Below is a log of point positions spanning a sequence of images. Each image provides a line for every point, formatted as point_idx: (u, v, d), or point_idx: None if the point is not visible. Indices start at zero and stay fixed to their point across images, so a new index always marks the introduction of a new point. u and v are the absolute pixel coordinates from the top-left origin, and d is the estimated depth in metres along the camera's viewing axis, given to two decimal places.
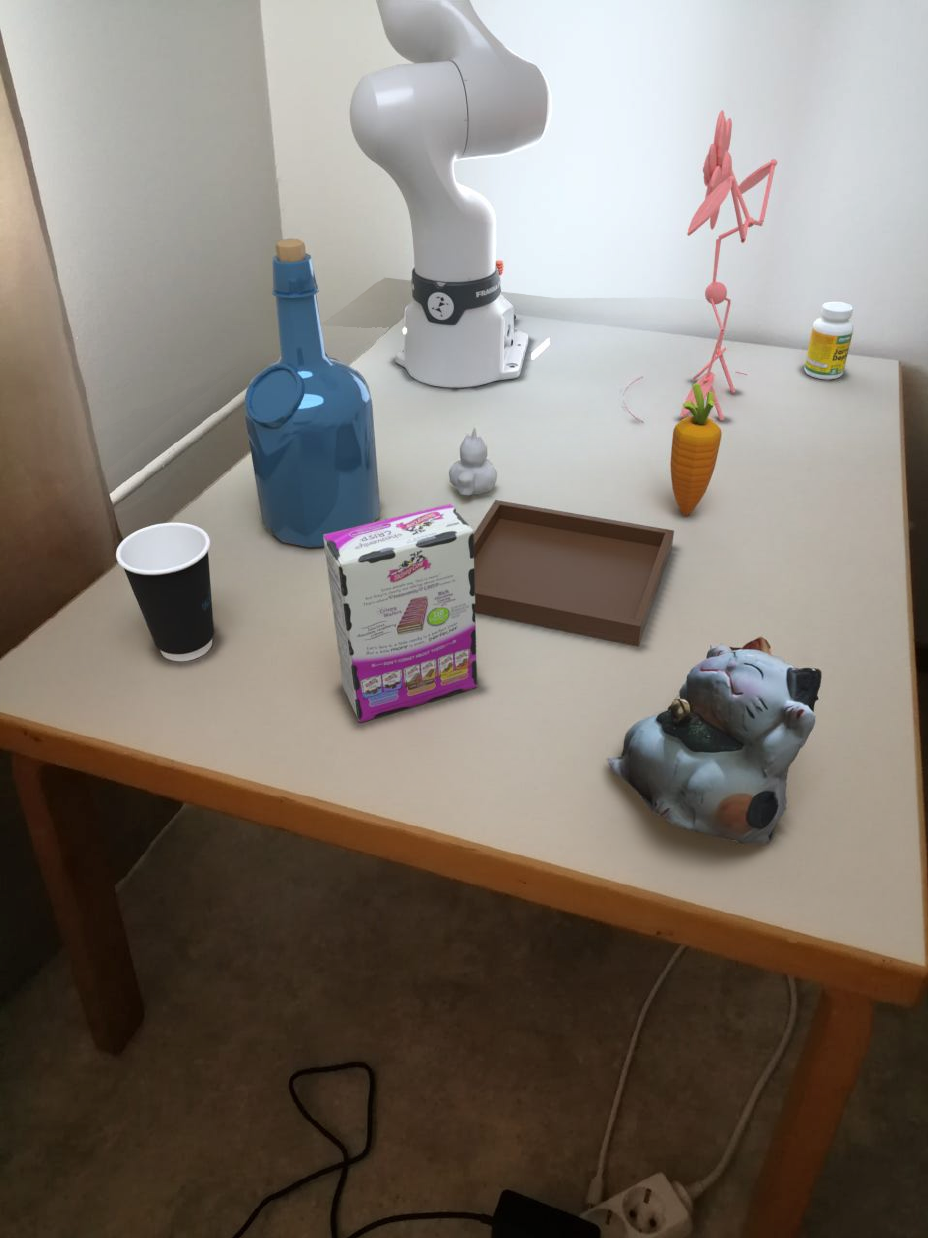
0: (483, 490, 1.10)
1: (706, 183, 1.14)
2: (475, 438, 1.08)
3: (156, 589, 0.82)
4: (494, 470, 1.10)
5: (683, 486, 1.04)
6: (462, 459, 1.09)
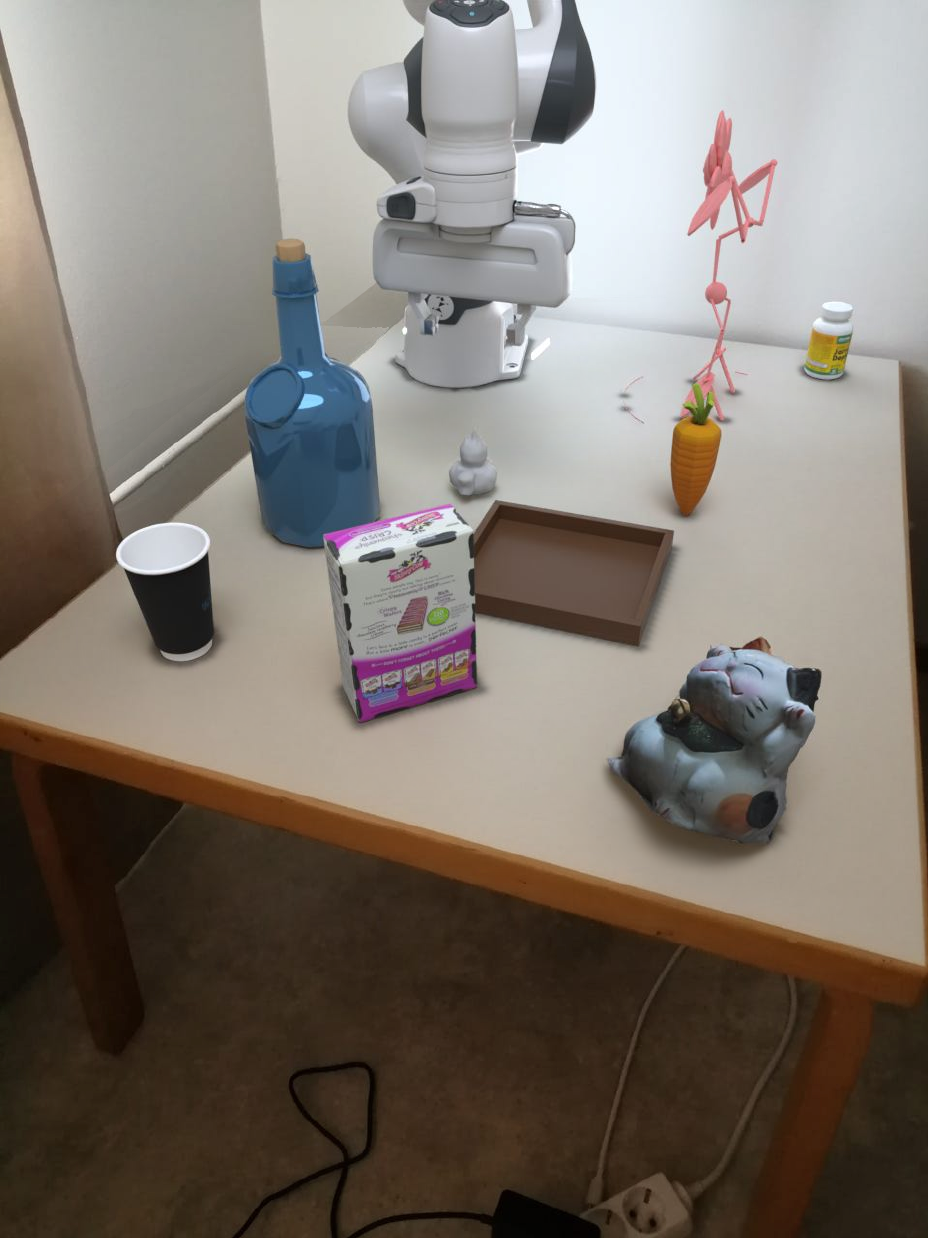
0: (483, 490, 1.10)
1: (706, 183, 1.14)
2: (475, 438, 1.08)
3: (156, 589, 0.82)
4: (494, 470, 1.10)
5: (683, 486, 1.04)
6: (462, 459, 1.09)
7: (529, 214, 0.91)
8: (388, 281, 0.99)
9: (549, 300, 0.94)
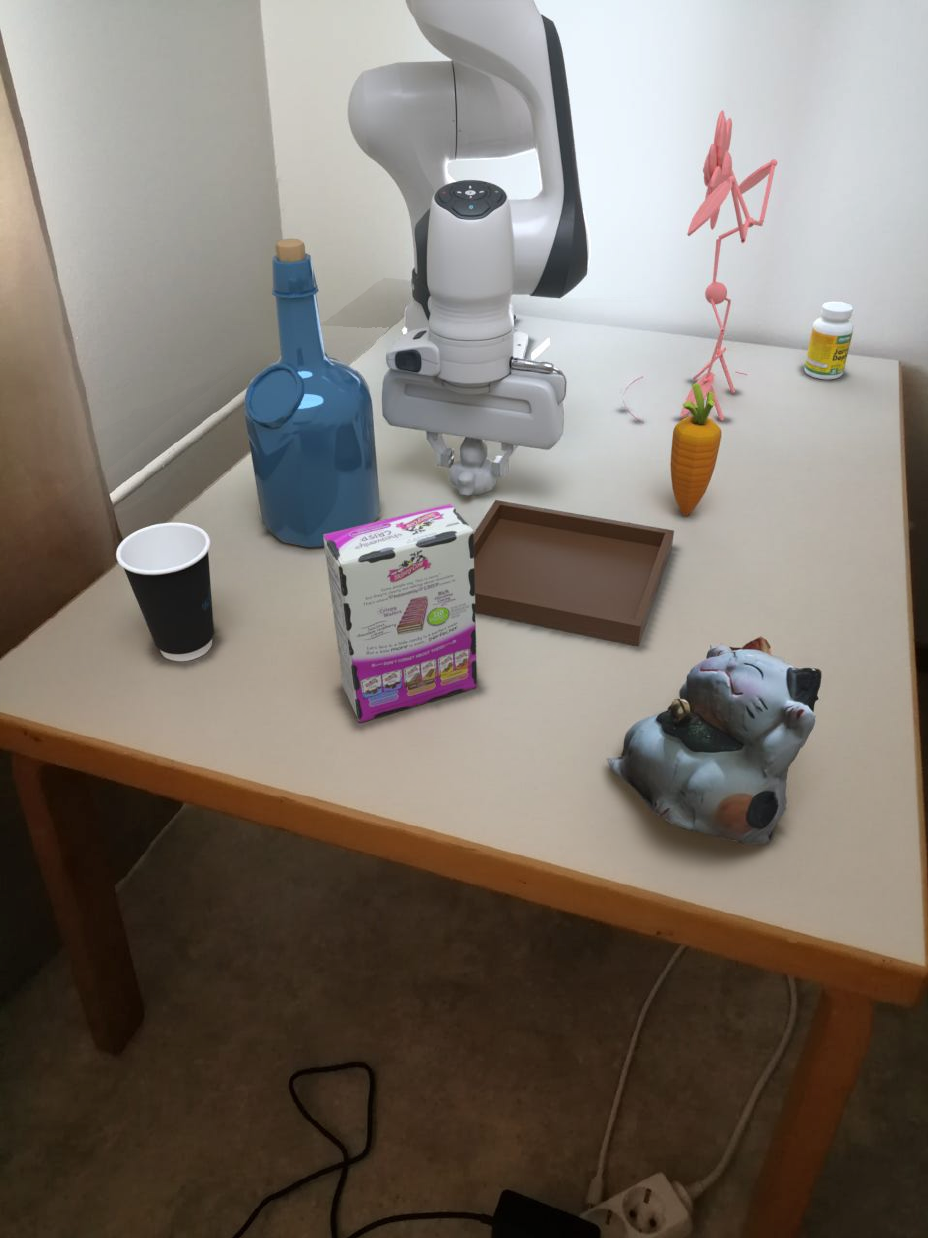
0: (483, 490, 1.10)
1: (706, 183, 1.14)
2: None
3: (156, 589, 0.82)
4: None
5: (683, 486, 1.04)
6: (462, 459, 1.09)
7: (524, 369, 1.01)
8: (396, 420, 1.08)
9: (543, 444, 1.03)
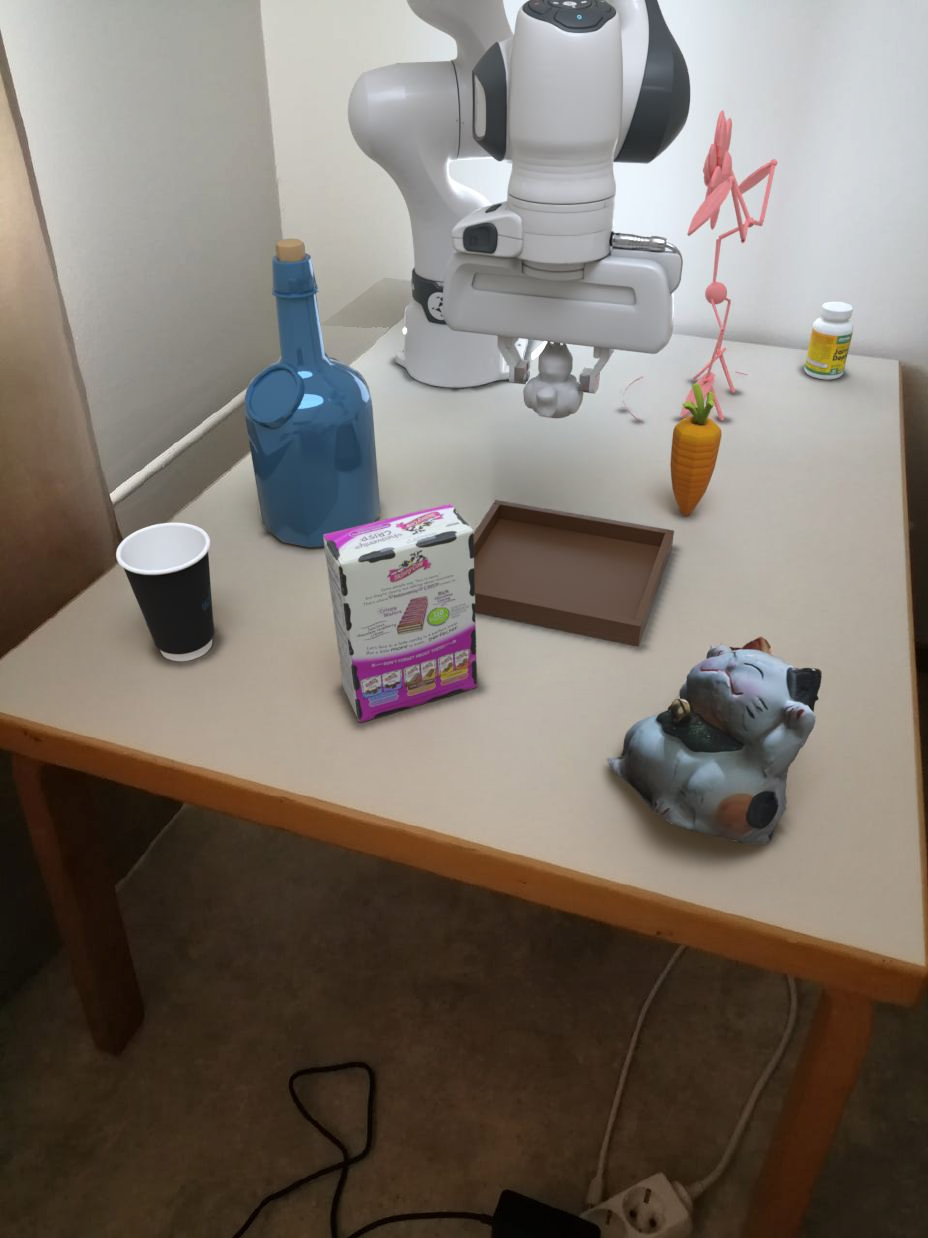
0: (567, 412, 0.89)
1: (706, 183, 1.14)
2: (558, 345, 0.87)
3: (156, 589, 0.82)
4: None
5: (683, 486, 1.04)
6: (542, 372, 0.88)
7: (629, 248, 0.79)
8: (459, 322, 0.86)
9: (649, 345, 0.82)
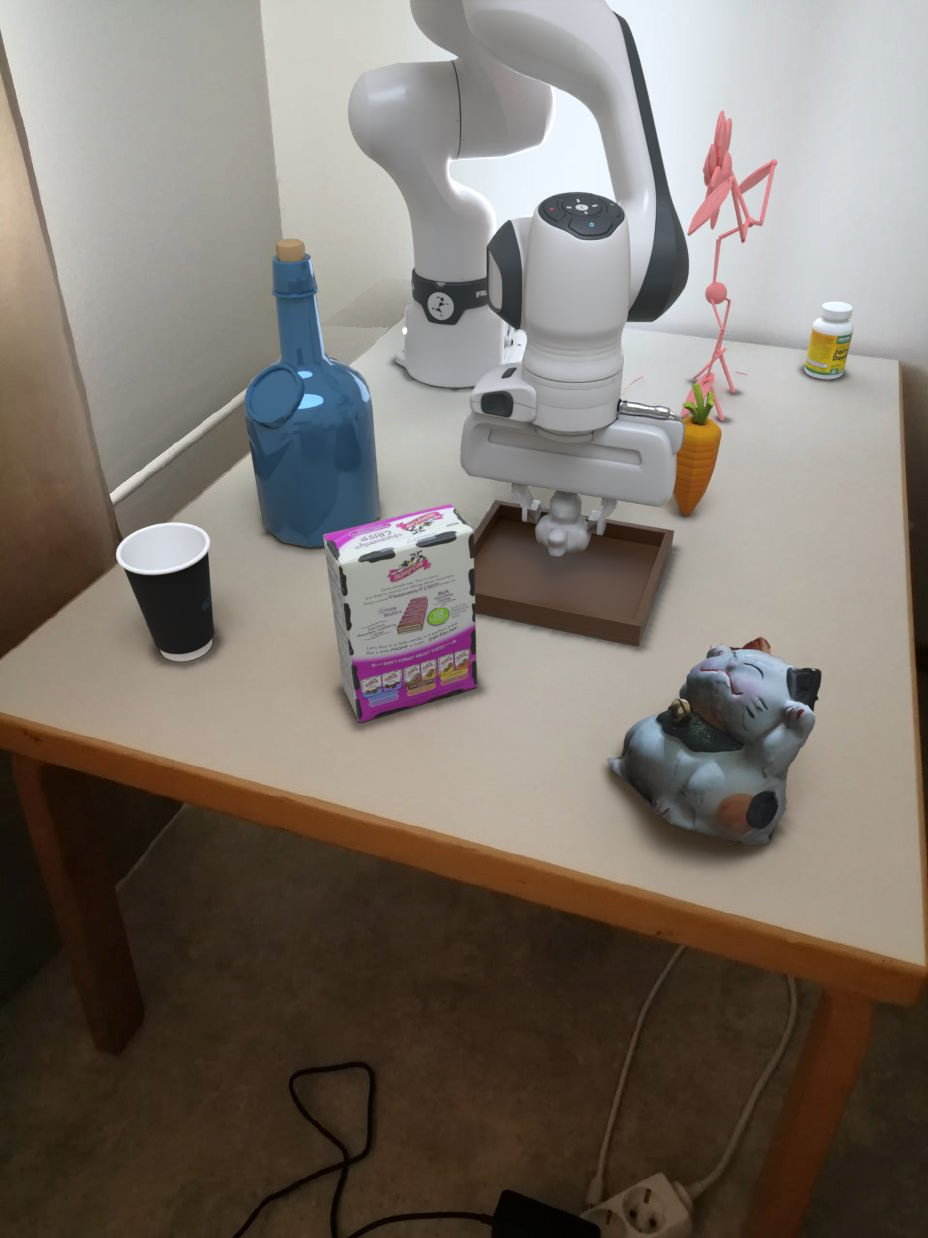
0: (576, 550, 0.95)
1: (706, 183, 1.14)
2: None
3: (156, 589, 0.82)
4: None
5: (683, 486, 1.04)
6: (553, 515, 0.94)
7: (635, 415, 0.85)
8: (476, 470, 0.93)
9: (653, 500, 0.88)
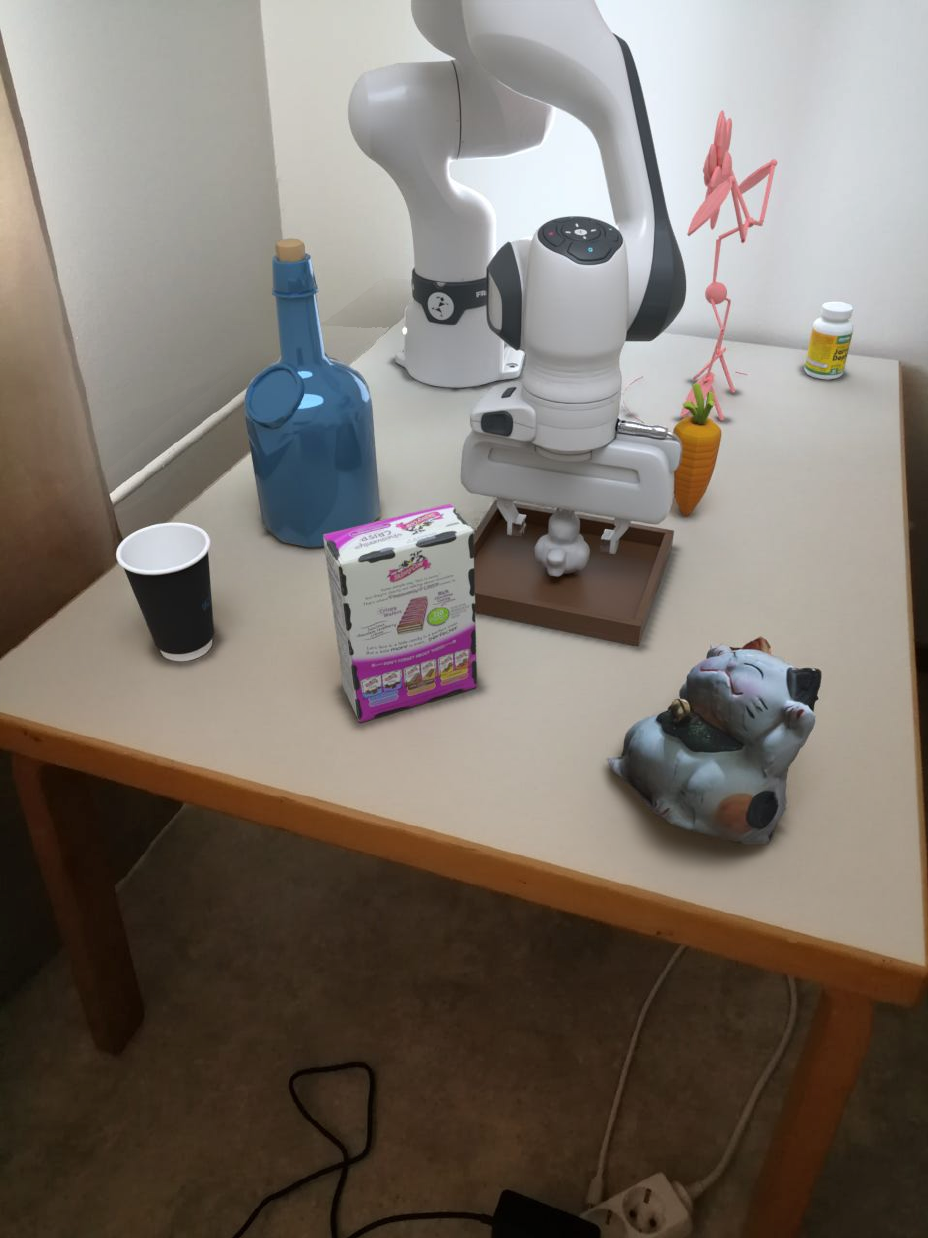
0: (574, 570, 0.97)
1: (706, 183, 1.14)
2: (567, 512, 0.95)
3: (156, 589, 0.82)
4: (587, 547, 0.96)
5: (683, 486, 1.04)
6: (551, 535, 0.95)
7: (633, 434, 0.86)
8: (476, 487, 0.94)
9: (651, 518, 0.89)
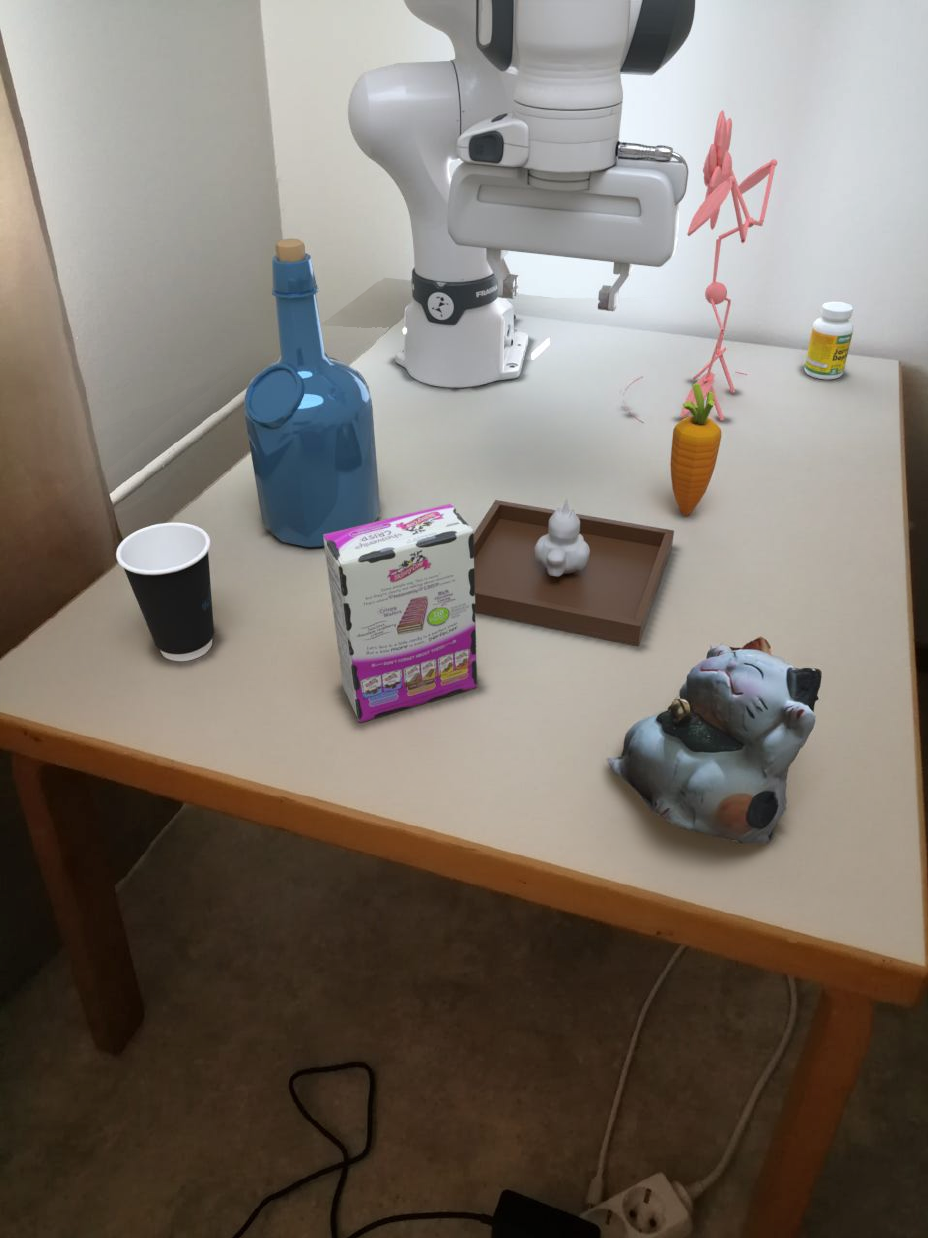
0: (574, 570, 0.96)
1: (706, 183, 1.14)
2: (567, 512, 0.95)
3: (156, 589, 0.82)
4: (587, 547, 0.96)
5: (683, 486, 1.04)
6: (551, 535, 0.95)
7: (634, 157, 0.79)
8: (464, 236, 0.87)
9: (653, 258, 0.82)
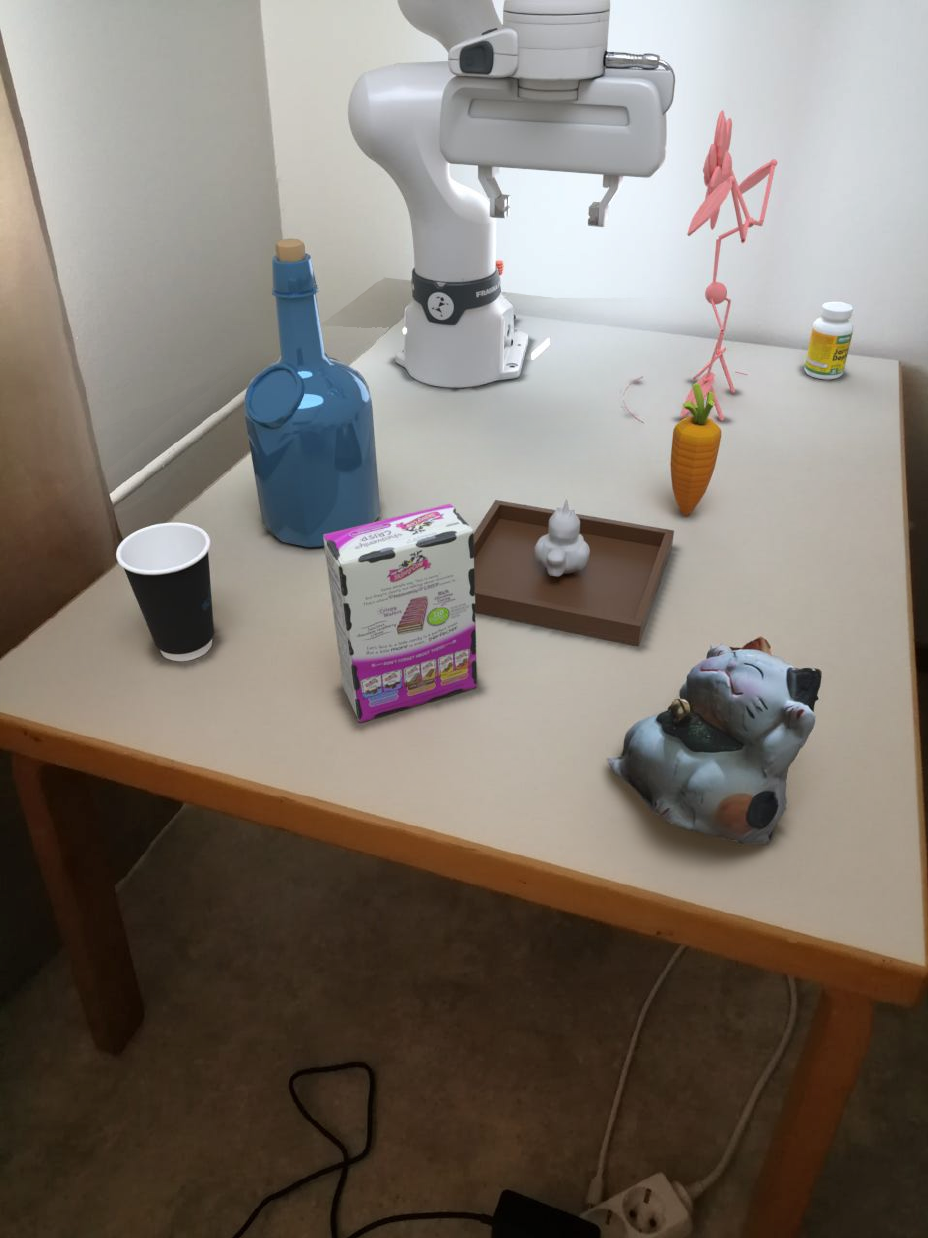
0: (574, 570, 0.97)
1: (706, 183, 1.14)
2: (567, 512, 0.95)
3: (156, 589, 0.82)
4: (587, 547, 0.96)
5: (683, 486, 1.04)
6: (551, 535, 0.95)
7: (622, 66, 0.81)
8: (456, 153, 0.88)
9: (642, 168, 0.83)
